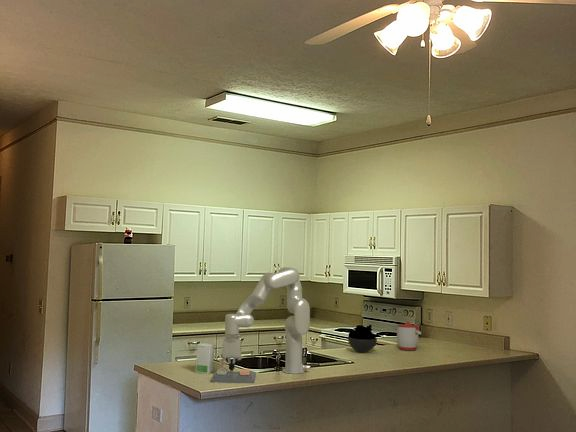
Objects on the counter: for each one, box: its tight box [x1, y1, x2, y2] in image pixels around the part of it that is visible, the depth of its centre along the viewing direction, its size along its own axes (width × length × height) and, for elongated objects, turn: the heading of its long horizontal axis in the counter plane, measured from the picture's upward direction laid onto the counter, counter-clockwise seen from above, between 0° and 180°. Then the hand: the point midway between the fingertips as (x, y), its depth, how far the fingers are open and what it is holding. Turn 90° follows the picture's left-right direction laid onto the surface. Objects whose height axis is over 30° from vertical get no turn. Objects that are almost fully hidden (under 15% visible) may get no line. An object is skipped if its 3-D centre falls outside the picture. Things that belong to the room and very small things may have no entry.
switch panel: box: [211, 370, 257, 384], centre depth 328 cm, size 22×19×4 cm
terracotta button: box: [239, 368, 251, 375], centre depth 323 cm, size 5×5×2 cm
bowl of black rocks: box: [347, 324, 378, 353], centre depth 420 cm, size 20×20×19 cm
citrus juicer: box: [396, 320, 422, 352], centre depth 435 cm, size 16×17×20 cm
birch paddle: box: [219, 359, 228, 369], centre depth 334 cm, size 4×3×6 cm
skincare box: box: [195, 342, 216, 375], centre depth 344 cm, size 8×7×16 cm
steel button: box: [216, 368, 229, 375], centre depth 323 cm, size 5×5×2 cm
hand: (231, 370), depth 334 cm, fingers closed
